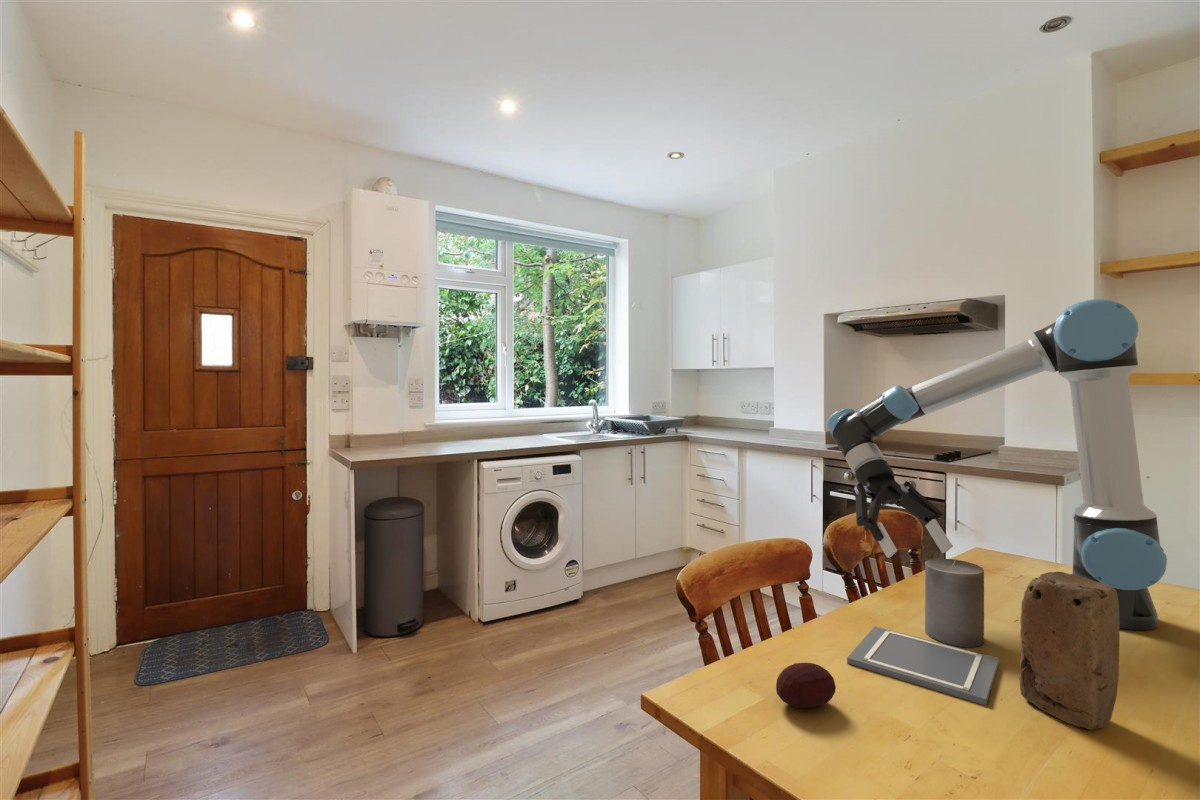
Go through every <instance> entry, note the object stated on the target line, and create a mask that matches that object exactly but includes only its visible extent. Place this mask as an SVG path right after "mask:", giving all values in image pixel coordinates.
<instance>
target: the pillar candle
mask: <svg viewBox="0 0 1200 800" xmlns="http://www.w3.org/2000/svg"><path fill="white" fill-rule="evenodd" d="M924 565H925V567H924V569H925V571H924V572H925V575H924V577H925V578H924V631H925V635H926V636H928V637H929V638H931V639H934V640H937V641H939V642H940V643H941V642H942V644H946V645H950V646H953V647H957V648H960V647H961V648H976V647H979V646H981V645H983V644H984V642H985V639H984V637H985V571H984V568H983V567H981V566H979V565H978V564H975V563H972V562H968V561H965V560H959V559H956V558H955V559H953V558H931V559H927V560H926V561H924Z"/></svg>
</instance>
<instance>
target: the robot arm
mask: <svg viewBox="0 0 1200 800" xmlns="http://www.w3.org/2000/svg"><path fill="white" fill-rule="evenodd" d="M1138 333H1139V323H1138V321H1137V318H1136V316H1135V315H1134V313H1133V312H1132V310H1130V308H1128V307H1127V306H1125V305H1124V304H1121V303H1120V302H1119V301H1114V300H1111V299H1104V298H1093V299H1086V300H1083V301H1078V302H1076V303H1074V304H1072V305H1071V306H1068V307H1067V308H1066V309H1064V310H1063V311H1062V312H1061V313H1060V314H1059V316H1058V317H1057V319H1056V320H1055V321H1054V322H1052V323H1051V324H1049V325H1047V326H1045V327H1043V328H1041V329H1039V330H1036V331H1034V332H1031V334H1030V335H1029V338H1027V340H1024V341H1022V342H1019V343H1017V344H1014V345H1012V346H1009V347H1006V348H1005V349H1004V348H1003V349H1002V350H999V351H997V352H994V353H992V354H989V355H987V356H985V357H982V358H979V359H977V360H974V361H972V362H969V363H967V364H965V365H962V366H959V367H957V368H954V369H952V370H950V371H947V372H945V373H941V374H940V375H937V376H935V377H932V378H930V379H927V380H925V381H922V382H920V383H918V384H915V385H912V386H910V387H907V388H905V387H903V386H902V385H899V384H897V385H893V387H891V388H890V389H887V390H884V391H883V392H882V393H881V394H880V395H879V396H876V397H875V398H874V399H873V400H872V401H870V402H869V403H867V404H866V405H864V406H863V407H861V408H860V409H858V410H856V411H855V410H854V409H853V408H850V407H849V408H848V407H847V408H841V409H840V410H837V411H835V412H834V413H832V414H831V415H830V416H829V417H828V419H827V422H826V425H827V429H828V430H829V433H830V435H831V438H832V439H833V440H834V442H835V443H836V445H837V447H838V448H839V451H840V452H841V454H842V456H843V457H844V459H845V461H846V462H847V465H848V466H849V468H850V469H851V471H852V473H853V474H854V477H855V479H856V480H857V482H858V483H857V484H856V485H855V487H854V488H853V489H852V493H853V496H854V498H855V513H856V514H855V516H856V525H857V526H858V527H863V529H864V530H865V531H870V533H871V535H872V537H873V539H874V540H875V542H878V544H879V545H880V548H881V549H882V551H883V553H884V555H885V557H886V558H887V559H888V558H891V557H892V556H894V555H895V554H896V553H897V552H898V549H897V546H895V544H894V542H893V540H892V538H891V537H890V535H889V533H888V531H887V530H886V528H885V526H884V525H883V523H882V522H881V521H878V518H879V515H880V511H881V507H882V506H887V505H895V506H897V507H899V508H900V507H902V508H903V509H904V510H906V511H908V512H910V513H911V514H912V515H914V516H915V517H916V518H918V519H919V520H921V521H923V522H924V523H925V525H924V526H925V528H926V529H927V531H928V534H929V535H930V537H931V538H932V539H933V541H934V543H935V544H936V547H938V549H939V551H940V552H941V554H946V553H947V552H948V551H949V550H951V549H952V548H953V547H954V546H953V544H952V542H951V541H950V539H949V538H948V536H947V534H946V530H945V529H944V528H943V526H942V524H941V523H940V521H939V520H940V519H941V518H942V517H943V516H944V513H943V512H942V511H941V510H940V509H939V508H938V507H937V506H935V505H934V504H933V503H932V502H931V501H930V500H928V499H927V498H926V497H925V496H924V495H922V494H921V493H920V492H919V491H918V490H917V489H916V488H915V487H914V486H913V484H912V483H911V482H910V481H908V480H906V481H904V483H901V484H899V483H898V482H897V481H896V479H895V472H894V470H893V469H892V467H891V466H890V464H889V462H888V461H887V460H886V458H885V456H884V454H883V453H882V451H881V450H880V448H879V447H878V445H877V443H876V442H875V441H874V440H876V439H877V438H878V437H880V436H881V435H883V434H885V433H886V432H888V431H889V430H891V429H893V428H895V427H896V426H898V425H903V424H907V423H909V422H911V421H913V420H915V419H918V418H921V417H924V416H926V415H928V414H931V413H934V412H936V411H939V410H943V409H945V408H948V407H950V406H953V405H955V404H958V403H961V402H965V401H966V400H970V399H972V398H975V397H977V396H981V395H982V394H985V393H986V394H987V393H989V392H990V391H993V390H996V389H999V388H1002V387H1005V386H1007V385H1010V384H1013V383H1016V382H1018V381H1020V380H1024V379H1026V378H1030V377H1032V376H1034V375H1037V374H1040V373H1044V372H1045V371H1046V372H1050V373H1057V372H1058V375H1059V376H1060V377H1062V378H1063V379H1065V380H1067V381H1068V382H1069V390H1070V399H1071V404H1072V405H1071V406H1072V414H1073V415H1072V416H1073V424H1074V430H1075V431H1074V432H1075V439H1076V440H1075V441H1076V450H1077V457H1078V465H1079V475H1080V483H1081V490H1082V491H1081V493H1082V499H1083V504H1082V503H1081V504H1078V505H1077V504H1076V506H1075V507H1074V512H1073V513H1074V514H1073V515H1072V518H1073V551H1072V557H1073V558H1072V573H1071V574H1075V575H1080V576H1082V577H1086V578H1088V579H1090V580H1093V581H1095V582H1100V583H1104V584H1108V585H1110V586H1112V587H1114V589H1115V590H1116V591H1117V595H1118V602H1119V623H1120V629H1124V630H1132V631H1151V630H1154V629H1157V628H1158V625H1159V624H1158V623H1159V621H1158V620H1159V616H1158V615H1159V614H1158V612H1157V609H1156V607H1155V606H1156V605H1155V604H1154V601H1153V599H1152V595H1151V593H1150V591H1149V587H1152V586H1153V585H1155V584H1157V583H1158V582H1159V581H1161V579H1162V578H1163V577H1164V575H1165V573H1166V570H1167V565H1168V564H1167V563H1168V558H1167V555H1166V553H1165V551H1164V549H1163V547H1162V546H1161V543H1160V542H1161V541H1160V534H1159V526H1158V525H1159V524H1158V518H1157V513H1156V512H1154V511H1153V510H1151V509H1150V508H1148V507H1147V506H1146V505H1145V504H1144V496H1143V487H1142V480H1141V470H1140V463H1139V455H1138V454H1139V453H1138V445H1137V437H1136V430H1135V423H1134V413H1133V405H1132V398H1131V397H1132V396H1131V395H1132V394H1131V388H1130V387H1131V386H1130V380H1129V377H1130V375H1131V374H1132V373H1133V372H1135V371H1136V369H1138V368H1139V363H1138V352H1137V345H1136V339H1137V337H1138ZM867 496H869V497H870V498H871V499H870V503H869V506H870V507H869V509H868V498H867ZM901 497H902V498H901ZM881 505H882V506H881Z"/></svg>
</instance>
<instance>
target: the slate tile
mask: <svg viewBox="0 0 1200 800" xmlns="http://www.w3.org/2000/svg"><path fill="white" fill-rule="evenodd" d="M846 658H847V660H846V663H847V664H849V665H852V666H855V667H858V668H861V669H865V670H869V671H872V672H874V673H878V674H880V675H881V674H882V675H885V676H887V677H891V678H894V679H896V680H897V679H898V680H901V681H905V682H906V683H910V684H914V685H917V686H919V687H920V686H921V687H924V688H925V689H929V690H933V691H937V692H941V693H943V694H947V695H948V696H949V695H950V696H953V697H956V698H959V699H963V700H966V701H969V702H973V703H976V704H980V705H982V706H987V703H988V700H989V697H990V694H991V690H992V687H993V684H994V680H995V677H996V674H997V671H998V667H999V664H1000V658H999V657H995V656H992V655H987V654H984V653H980V652H977V651H972V650H968V649H965V648H962V647H961V648H960V647H958V646H953V645H949V644H946V643H943V642H942V643H941V642H937V641H935V640H929V639H927V638H926V639H925V638H922V637H918V636H913V635H911V634H906V633H902V632H898V631H894V630H891V629H886V628H883V627H879V626H876V625H875V626H873V628H871V629H870V631H869V632H868V633H867V634H866V635H865V637H864V638H863V639H862V640H861V641H860V642H859V644H858V645H856V647H855V648H854V649H853V650H852V651H851V652H850V654H849V655H848V656H847V657H846Z"/></svg>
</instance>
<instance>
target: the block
mask: <svg viewBox="0 0 1200 800" xmlns="http://www.w3.org/2000/svg"><path fill="white" fill-rule="evenodd" d="M1020 610H1021V611H1020V632H1019V633H1020V645H1021V653H1020V655H1021V656H1020V660H1019V689H1020V690H1019V691H1020V694H1021V696H1022V697H1023V698H1024V699H1025V700H1027V702H1030V703H1032V704H1034V706H1036V707H1037V708H1038V709H1040V710H1042V711H1043V712H1046V713H1048V714H1050V715H1051V716H1053V717H1055V718H1057V719H1059V720H1061V721H1063V722H1065V723H1067V724H1070V725H1073V726H1075V727H1078V728H1085V729H1088V730H1093V731H1094V730H1099V729H1102V728H1105V727H1106V726H1108V724H1109V722H1110V721H1111V719H1112V715H1113V713H1114V708H1115V705H1116V700H1117V694H1118V686H1119V676H1120V673H1119V672H1120V671H1119V670H1120V629H1121V628H1120V623H1119V602H1118V595H1117V591H1116V590H1115V589H1114V587H1112V586H1110V585H1108V584H1104V583H1100V582H1095V581H1093V580H1090V579H1088V578H1086V577H1082V576H1080V575H1075V574H1072V573H1071V574H1070V573H1066V572H1064V571H1049V572H1048V571H1047V572H1046V573H1045V572H1044V573H1041V574H1040V575H1039V576H1038V577H1034V578H1033V579H1031V581H1030V582H1029V583H1028V585H1027V586H1026V589H1025V591H1024V596H1023V598H1022V599H1021V609H1020Z"/></svg>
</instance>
